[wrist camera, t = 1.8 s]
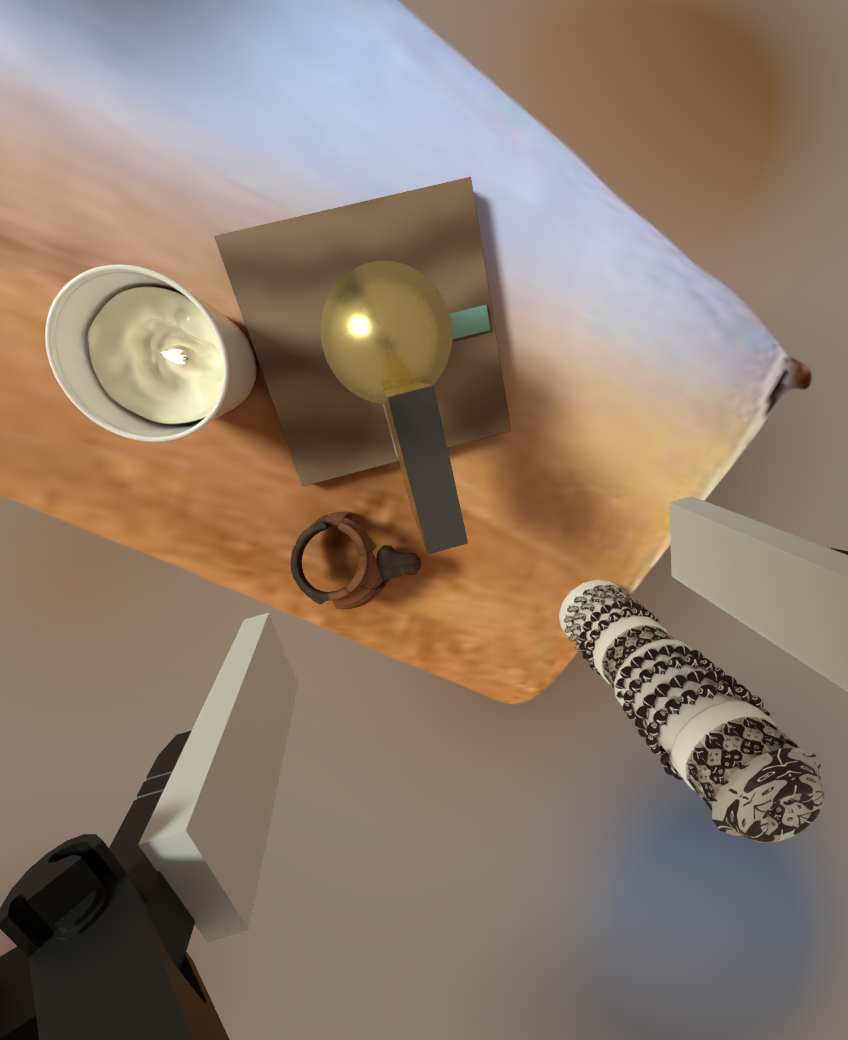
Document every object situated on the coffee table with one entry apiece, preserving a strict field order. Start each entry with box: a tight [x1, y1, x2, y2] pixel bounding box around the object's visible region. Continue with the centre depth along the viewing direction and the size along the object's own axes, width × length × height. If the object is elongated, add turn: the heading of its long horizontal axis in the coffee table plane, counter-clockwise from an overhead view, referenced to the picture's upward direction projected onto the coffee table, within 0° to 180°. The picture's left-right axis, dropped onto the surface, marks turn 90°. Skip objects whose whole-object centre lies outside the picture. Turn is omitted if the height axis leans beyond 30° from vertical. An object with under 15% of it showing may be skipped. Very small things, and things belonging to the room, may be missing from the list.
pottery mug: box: [291, 512, 421, 609], centre depth 42 cm, size 12×9×8 cm
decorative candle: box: [559, 579, 824, 843], centre depth 39 cm, size 9×9×25 cm
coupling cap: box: [320, 261, 468, 554], centre depth 26 cm, size 16×8×8 cm, turn 13°
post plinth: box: [214, 177, 511, 486], centre depth 33 cm, size 20×20×10 cm
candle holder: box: [45, 265, 257, 442], centre depth 31 cm, size 10×10×12 cm
